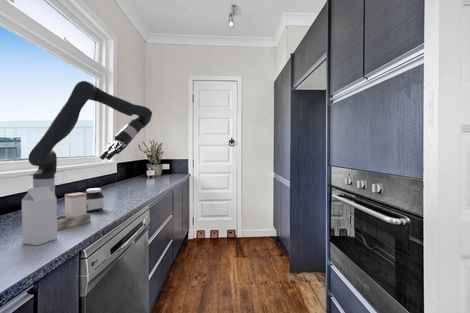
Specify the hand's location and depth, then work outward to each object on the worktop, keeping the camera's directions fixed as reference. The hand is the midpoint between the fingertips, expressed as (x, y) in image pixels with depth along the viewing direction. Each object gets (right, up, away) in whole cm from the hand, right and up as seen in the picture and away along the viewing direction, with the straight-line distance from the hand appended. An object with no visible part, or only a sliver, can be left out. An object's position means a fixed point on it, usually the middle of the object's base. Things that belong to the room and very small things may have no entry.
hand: (104, 158), depth 123 cm
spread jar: (-13, -28, +10) cm, 32 cm away
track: (-9, -29, -15) cm, 33 cm away
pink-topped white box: (-6, -27, -12) cm, 30 cm away
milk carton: (-5, -29, -35) cm, 46 cm away
